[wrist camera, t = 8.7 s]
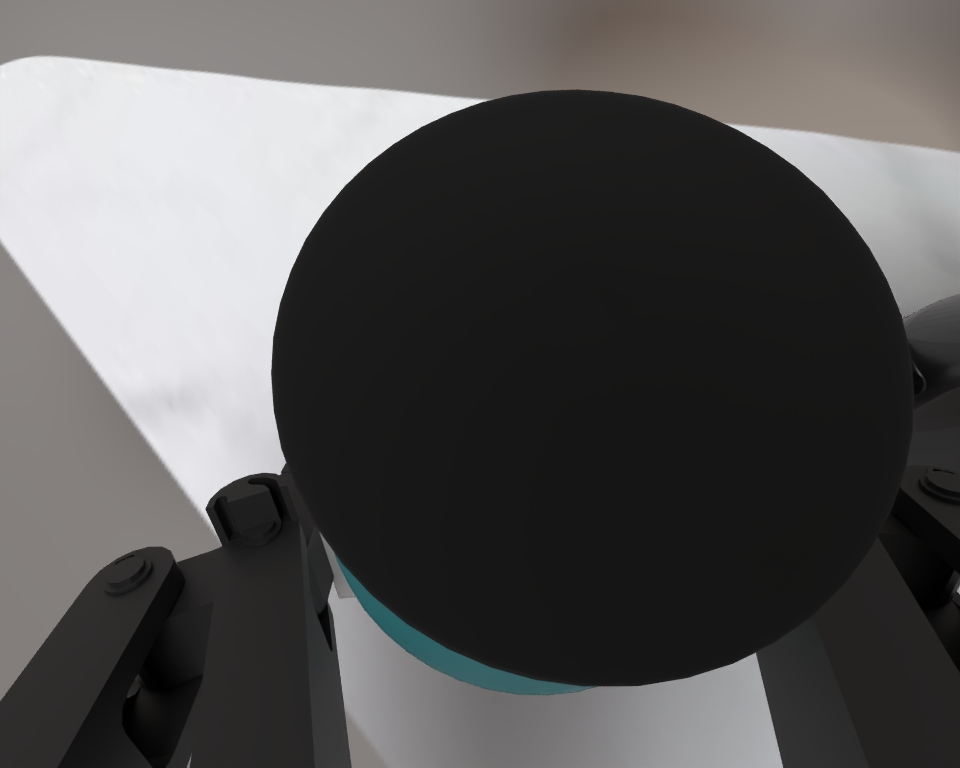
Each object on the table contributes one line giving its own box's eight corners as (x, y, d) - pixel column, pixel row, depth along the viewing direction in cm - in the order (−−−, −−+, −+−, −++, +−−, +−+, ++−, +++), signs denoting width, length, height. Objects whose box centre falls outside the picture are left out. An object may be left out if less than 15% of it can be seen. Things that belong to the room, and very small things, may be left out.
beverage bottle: (408, 542, 21) (-335, 603, 2) (477, 415, 23) (384, -161, 4) (539, 617, 20) (1257, 1997, 1) (601, 478, 22) (1302, 96, 3)
